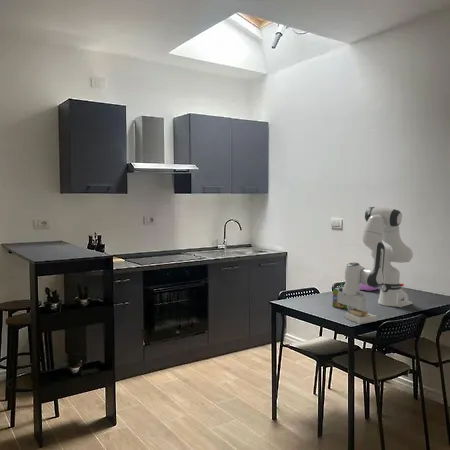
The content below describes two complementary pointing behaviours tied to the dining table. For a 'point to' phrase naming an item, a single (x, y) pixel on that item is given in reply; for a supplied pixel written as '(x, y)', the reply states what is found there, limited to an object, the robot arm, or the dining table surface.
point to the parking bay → (361, 318)
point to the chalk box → (335, 298)
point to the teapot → (367, 287)
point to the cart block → (359, 313)
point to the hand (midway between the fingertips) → (351, 313)
